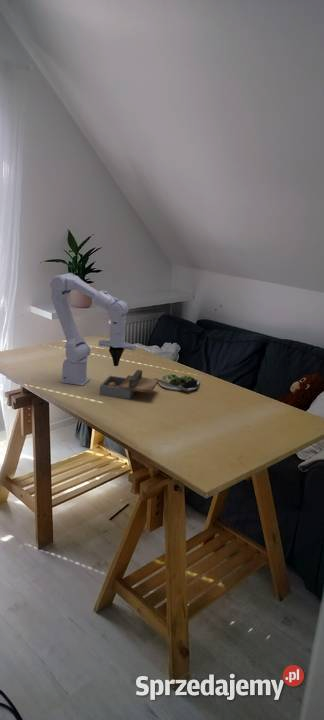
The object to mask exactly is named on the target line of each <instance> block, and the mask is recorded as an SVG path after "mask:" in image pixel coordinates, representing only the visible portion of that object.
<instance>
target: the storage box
mask: <svg viewBox="0 0 324 720" xmlns="http://www.w3.org/2000/svg"><path fill="white" fill-rule="evenodd" d="M125 378H126V377H121V376H115V375H108V377H107V378H106V379H105V380H104V381H103V382H102V383H101V384H100V385H99V395H100V396H107V397H112V398H120V399H125V400H131V398H132V396H133V395H134V394H135V392H136V391H134V390H127V389H121V388H119V386H120V384H121V383H122V382H123V381H124V380H125ZM110 382H114V383H115V384H116V387H111V386H108V384H109V383H110Z"/></svg>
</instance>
